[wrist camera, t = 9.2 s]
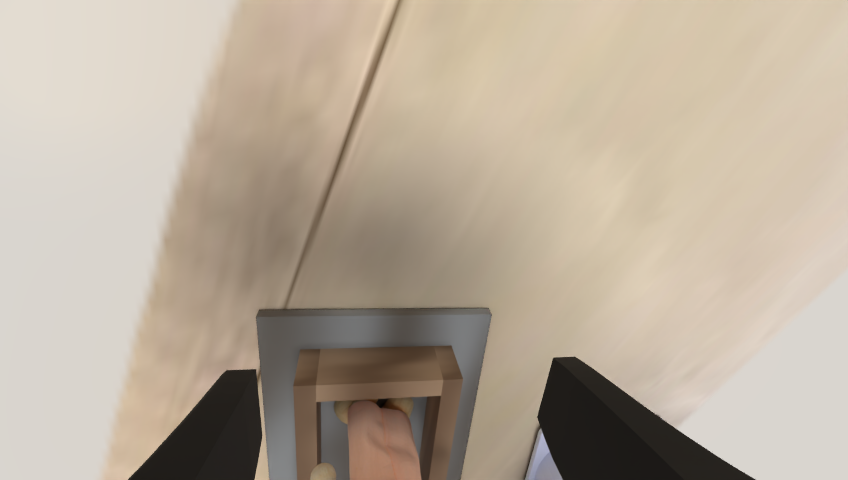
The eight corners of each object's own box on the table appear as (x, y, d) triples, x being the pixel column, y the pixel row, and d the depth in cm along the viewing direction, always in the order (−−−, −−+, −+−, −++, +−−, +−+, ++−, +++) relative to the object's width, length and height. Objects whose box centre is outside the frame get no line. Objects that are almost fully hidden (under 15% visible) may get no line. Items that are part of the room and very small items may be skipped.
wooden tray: (488, 308, 22) (508, 344, 19) (452, 500, 28) (464, 550, 25) (259, 310, 20) (242, 351, 17) (275, 518, 26) (265, 574, 23)
